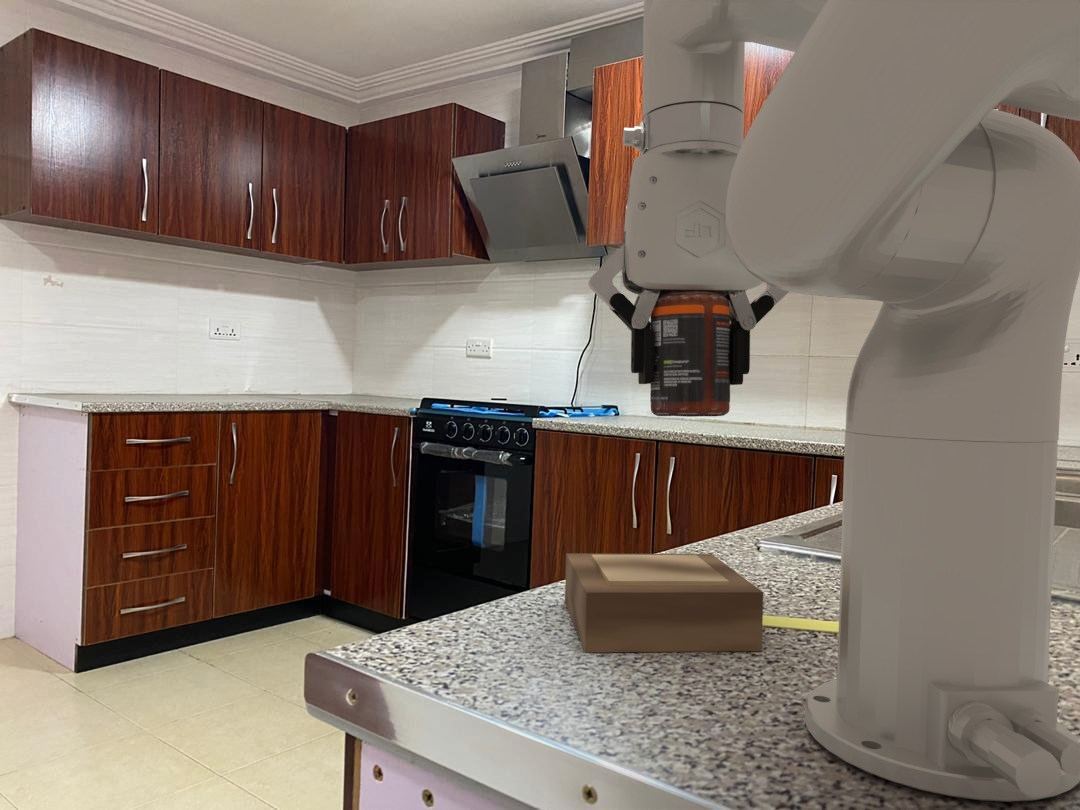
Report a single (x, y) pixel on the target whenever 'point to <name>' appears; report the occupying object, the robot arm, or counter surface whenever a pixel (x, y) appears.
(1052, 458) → the robot arm
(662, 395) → the supplement bottle
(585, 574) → the base slab
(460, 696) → the counter surface
